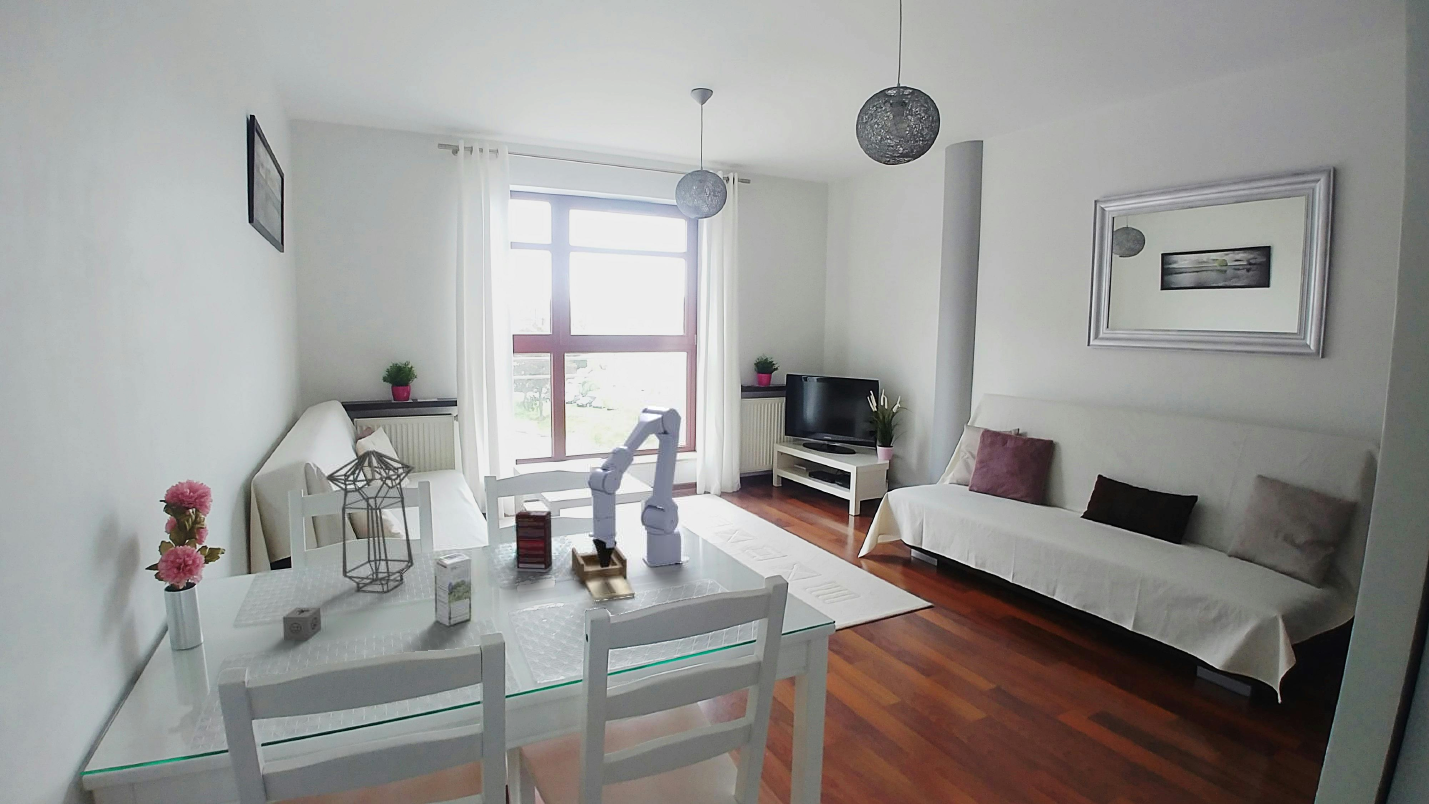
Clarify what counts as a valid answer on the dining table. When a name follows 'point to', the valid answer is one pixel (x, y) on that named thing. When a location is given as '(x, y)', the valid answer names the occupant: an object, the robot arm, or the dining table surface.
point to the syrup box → (452, 589)
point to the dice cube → (301, 623)
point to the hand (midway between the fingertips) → (604, 566)
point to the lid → (609, 587)
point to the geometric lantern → (356, 467)
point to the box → (598, 565)
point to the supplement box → (533, 541)
